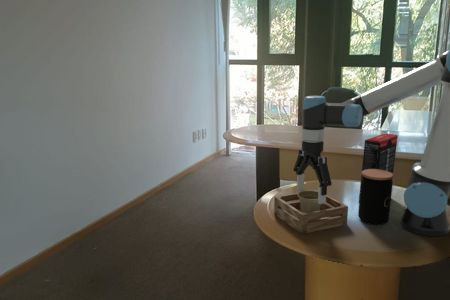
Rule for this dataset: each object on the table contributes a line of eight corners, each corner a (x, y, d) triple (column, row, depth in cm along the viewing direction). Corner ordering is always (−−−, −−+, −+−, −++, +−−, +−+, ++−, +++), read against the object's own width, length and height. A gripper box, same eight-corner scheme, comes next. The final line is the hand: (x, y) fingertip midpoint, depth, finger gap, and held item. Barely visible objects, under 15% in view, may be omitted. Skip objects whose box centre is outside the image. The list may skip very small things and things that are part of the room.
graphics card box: (376, 193, 171) (381, 132, 165) (392, 197, 167) (398, 134, 160) (357, 204, 160) (362, 139, 153) (374, 209, 155) (380, 141, 148)
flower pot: (294, 220, 143) (295, 197, 141) (298, 210, 152) (299, 189, 150) (321, 223, 141) (322, 200, 138) (323, 213, 149) (325, 191, 147)
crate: (346, 224, 142) (348, 206, 140) (301, 234, 135) (302, 215, 133) (315, 206, 159) (316, 189, 157) (274, 213, 152) (274, 196, 150)
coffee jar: (387, 228, 139) (392, 179, 134) (356, 223, 143) (359, 175, 138) (389, 216, 148) (394, 170, 144) (359, 212, 152) (363, 167, 148)
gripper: (344, 146, 129) (340, 207, 135) (302, 132, 152) (300, 185, 157) (325, 148, 127) (322, 210, 132) (285, 134, 149) (284, 187, 154)
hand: (310, 197), depth 144 cm, fingers open, 13 cm apart
